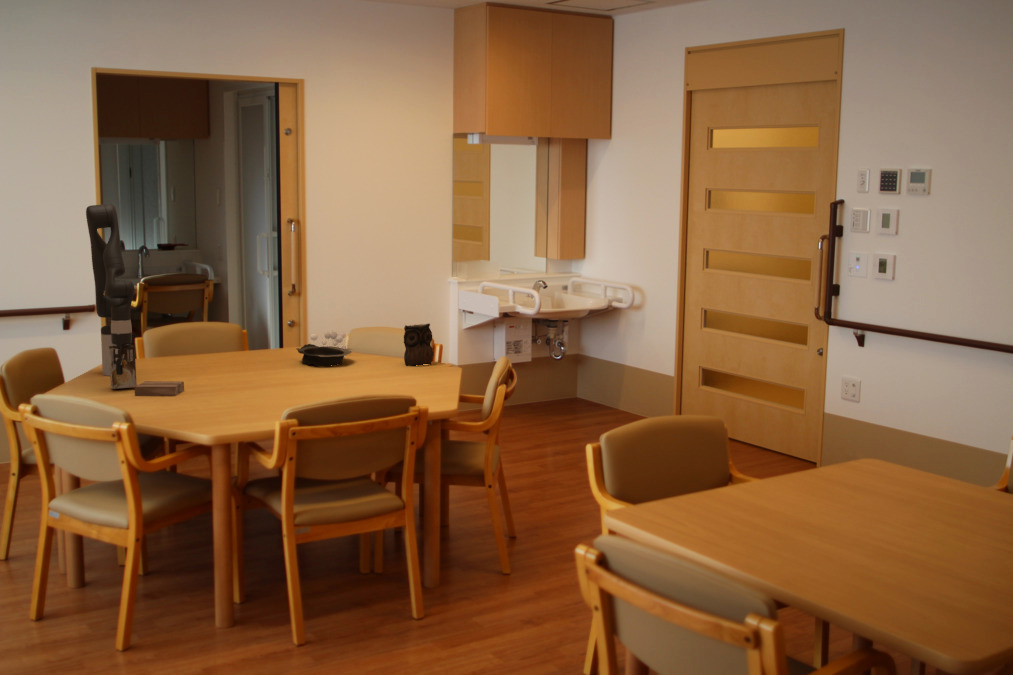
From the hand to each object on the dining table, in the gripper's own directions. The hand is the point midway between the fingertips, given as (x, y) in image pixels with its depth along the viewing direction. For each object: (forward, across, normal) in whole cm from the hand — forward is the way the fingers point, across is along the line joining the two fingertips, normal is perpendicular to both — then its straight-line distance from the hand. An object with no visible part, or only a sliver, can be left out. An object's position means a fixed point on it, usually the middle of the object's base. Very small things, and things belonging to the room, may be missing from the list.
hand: (123, 372), depth 383 cm
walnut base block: (+7, +7, +16) cm, 19 cm away
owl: (+7, -58, +113) cm, 128 cm away
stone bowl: (+8, -61, +71) cm, 94 cm away
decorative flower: (+8, -86, +69) cm, 110 cm away
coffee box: (+6, 0, 0) cm, 6 cm away
